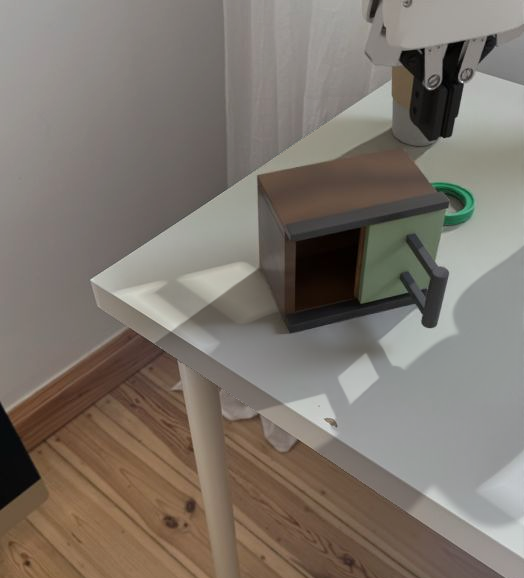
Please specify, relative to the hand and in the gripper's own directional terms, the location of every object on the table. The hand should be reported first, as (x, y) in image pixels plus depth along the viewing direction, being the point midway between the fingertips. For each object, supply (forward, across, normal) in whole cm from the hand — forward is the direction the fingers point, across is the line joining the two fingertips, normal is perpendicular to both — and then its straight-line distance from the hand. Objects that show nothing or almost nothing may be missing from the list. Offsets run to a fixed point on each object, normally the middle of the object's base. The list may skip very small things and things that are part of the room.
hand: (431, 128), depth 52 cm
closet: (+20, +3, -8) cm, 22 cm away
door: (+19, -1, 0) cm, 19 cm away
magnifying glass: (+21, -8, -16) cm, 27 cm away
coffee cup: (+21, -15, -28) cm, 39 cm away
